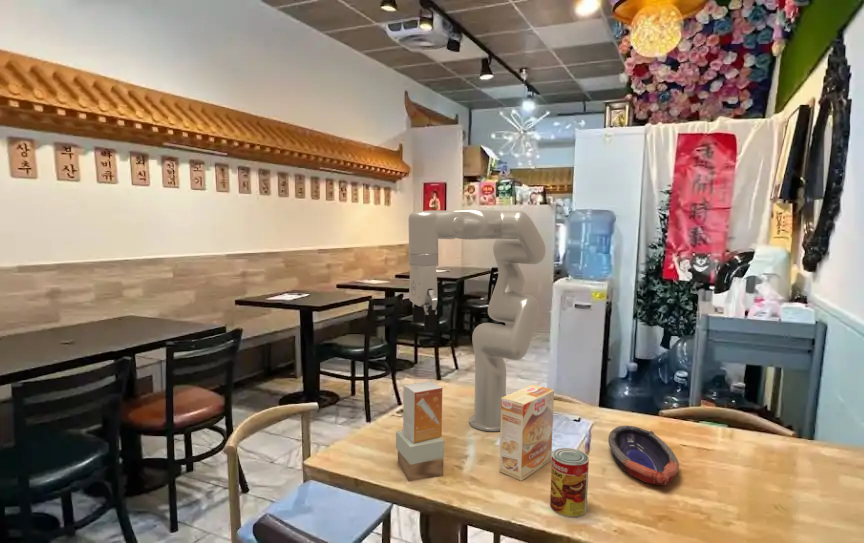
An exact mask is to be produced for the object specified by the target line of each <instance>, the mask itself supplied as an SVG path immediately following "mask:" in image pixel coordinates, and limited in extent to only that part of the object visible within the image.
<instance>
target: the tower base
mask: <svg viewBox="0 0 864 543" xmlns="http://www.w3.org/2000/svg"><path fill="white" fill-rule="evenodd" d="M397 464H398V467H399V468H400V470H401V472H402V473H403V474H404V476H405V478H406V480H407V481H408V482H413V481H420V480H425V479H426V480H427V479H431V478H432V479H433V478H438V477H444V458H442V459H437V460H432V461H427V462H422V463H417V464H412V465H410V464H409V463H408V462H407V460H406V459H405V458H404V457H403V456H402V454H401V453H400V452H399V451H398V450H397Z"/></svg>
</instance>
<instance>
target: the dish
mask: <svg viewBox="0 0 864 543" xmlns="http://www.w3.org/2000/svg"><path fill="white" fill-rule="evenodd" d="M608 446H609V448H610V451H611V454H612V456H613V458H614V459H615V461H616V463H617V464H618V465H619V466H620V468H621V469H622V470H623V471H624V472H626V473H627V474H628V475H630V476H631V477H634V478H636V479H638V480H640V481H642V482H644V483H647V484H652V485H657V486H663V487H664V486H668V485H670V483H672V480H673V479H674V477H675V476H676V475H677V473H678V472H679V468H680V462H679V461H678V458H677V456H676V455H675V452H674V451H673V450H672V449H671V447H670V446H669V445H668V444H667V443H666V442H665V441H663V440H662V439H661V438H660V437H659V436H658V435H656V434H655V433H654V431H653V430H647V429H644V428H641V427H638V426H633V425H620V426H616V427H615V428H613V429H612V430H611V431H610V432H609V434H608Z"/></svg>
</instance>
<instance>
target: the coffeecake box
mask: <svg viewBox="0 0 864 543" xmlns="http://www.w3.org/2000/svg"><path fill="white" fill-rule="evenodd" d="M554 394H555V390H554V389H551V388H549V387H545V386H540V385H536V384H533V383H532V384H531V385H527V386H525V387H523V388H521V389H517V390H516V391H514V392H511V393H509V394H506V396H504V397H502V398H501V428H500V431H499V432H500V436H499V438H500V440H499V468H498V469H499V471H498V472H499V473H502V474H504V475H507V476H509V477H511V478H513V479H516V480H519V481H524V480H525V479H526V478H528V477H530V476H531V475H532V474H534V473H535V472H536V471H538V470H540V469H541V468H543V466H545V465H547V464H548V463H550V462H552V452H553V451H552V449H553V425H554V423H553V421H554V402H555V401H554V400H555V399H554V397H555V395H554Z"/></svg>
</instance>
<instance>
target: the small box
mask: <svg viewBox="0 0 864 543" xmlns="http://www.w3.org/2000/svg"><path fill="white" fill-rule="evenodd" d="M402 396H403V402H402V403H403V406H402V407H403V409H402V411H403V412H402V413H403V414H402V417H403V418H402V419H403V420H402V421H403V422H402V423H403V426H402V427H403V428H402V430H403V434H404V435H405V436H406V437H407V438H408V439H410V440H411V441H412V442H413V443H416V442H420V441H425V440H429V439H434V438H442V436H443V434H442V430H443V426H442V425H443V386H440V385H439V384H437V383H435V382H433V381H432V380H429V381H424V382H423V381H422V382H416V383H413V384H412V383H411V384H405V385H403V395H402Z"/></svg>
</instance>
